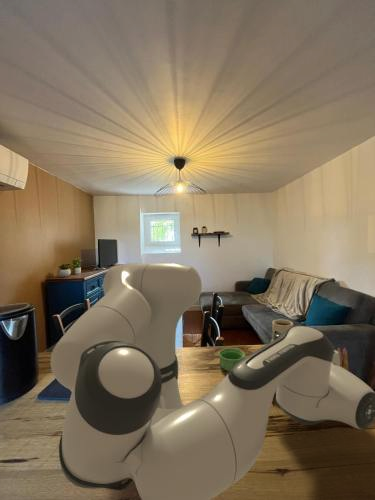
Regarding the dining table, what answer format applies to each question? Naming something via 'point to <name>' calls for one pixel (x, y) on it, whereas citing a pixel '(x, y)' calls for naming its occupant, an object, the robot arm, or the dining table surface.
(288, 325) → the character mug
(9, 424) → the dining table surface
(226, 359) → the ramekin
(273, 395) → the robot arm
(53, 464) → the dining table surface
